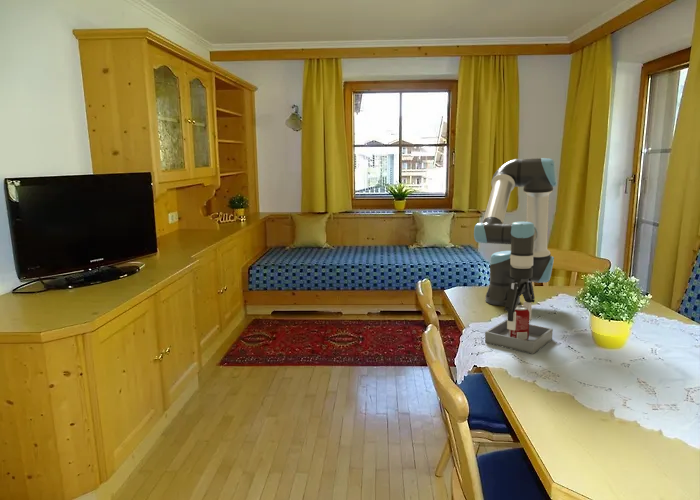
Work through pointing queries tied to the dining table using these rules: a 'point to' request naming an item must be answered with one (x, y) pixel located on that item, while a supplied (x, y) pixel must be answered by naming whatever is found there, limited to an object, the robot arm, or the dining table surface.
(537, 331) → the bin
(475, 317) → the dining table surface
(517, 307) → the soda can
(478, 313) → the dining table surface
